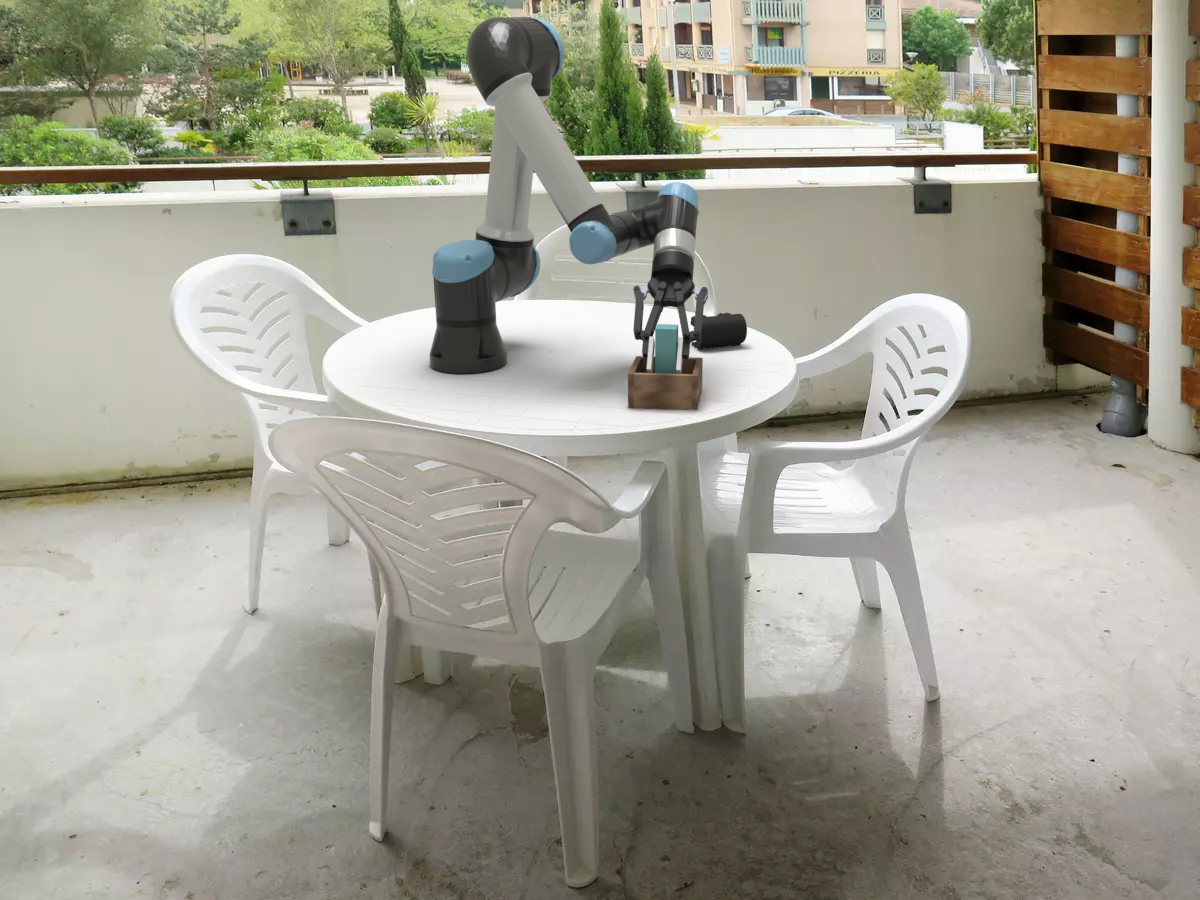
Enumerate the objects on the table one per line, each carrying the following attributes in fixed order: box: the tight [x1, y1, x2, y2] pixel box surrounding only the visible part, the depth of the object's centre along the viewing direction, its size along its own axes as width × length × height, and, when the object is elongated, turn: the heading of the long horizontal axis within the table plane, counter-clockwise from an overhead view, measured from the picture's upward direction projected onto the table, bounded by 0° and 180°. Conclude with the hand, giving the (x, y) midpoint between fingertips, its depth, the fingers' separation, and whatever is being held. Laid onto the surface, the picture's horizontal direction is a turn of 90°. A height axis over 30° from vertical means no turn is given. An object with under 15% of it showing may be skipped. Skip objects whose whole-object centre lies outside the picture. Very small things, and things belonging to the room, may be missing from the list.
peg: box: [654, 323, 679, 374], centre depth 205 cm, size 4×4×13 cm
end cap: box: [690, 311, 748, 351], centre depth 240 cm, size 10×7×7 cm
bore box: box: [627, 355, 704, 411], centre depth 206 cm, size 12×12×6 cm
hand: (663, 373), depth 202 cm, fingers open, 4 cm apart
